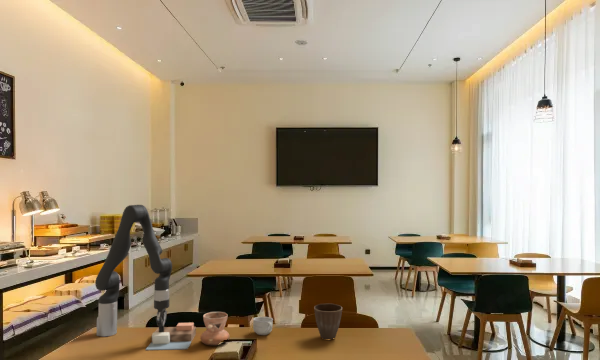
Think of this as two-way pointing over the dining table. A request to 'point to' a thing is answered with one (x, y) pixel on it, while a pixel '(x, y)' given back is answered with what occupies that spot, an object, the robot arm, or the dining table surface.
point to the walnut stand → (179, 334)
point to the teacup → (262, 325)
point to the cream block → (161, 337)
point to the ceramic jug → (214, 328)
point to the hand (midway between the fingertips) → (161, 332)
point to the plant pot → (328, 319)
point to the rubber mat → (169, 346)
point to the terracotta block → (184, 326)
